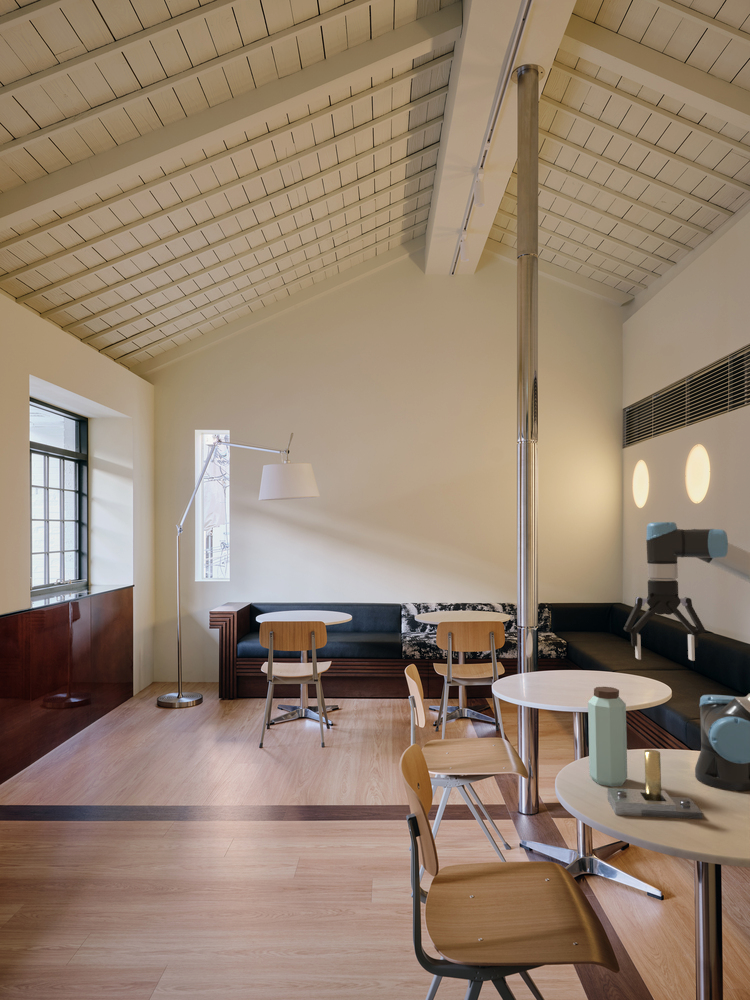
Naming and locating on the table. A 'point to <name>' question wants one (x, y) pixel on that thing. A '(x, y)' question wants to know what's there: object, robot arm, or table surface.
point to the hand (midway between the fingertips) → (664, 659)
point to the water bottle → (607, 737)
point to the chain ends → (651, 804)
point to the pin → (652, 775)
